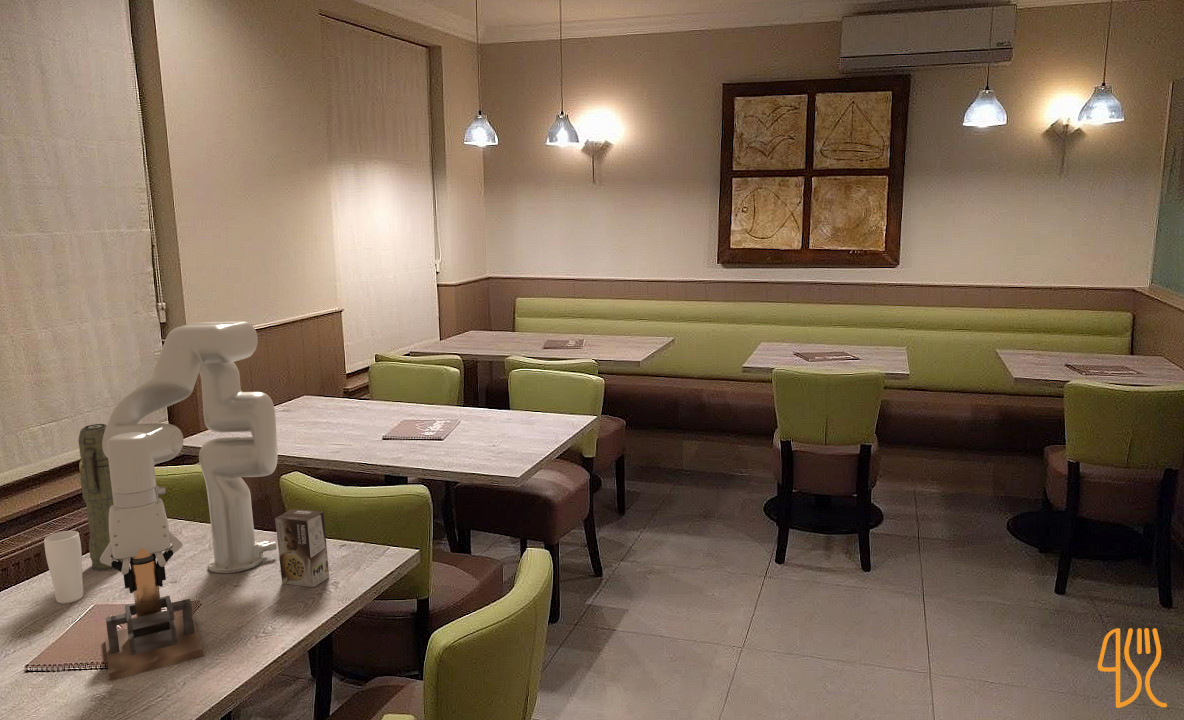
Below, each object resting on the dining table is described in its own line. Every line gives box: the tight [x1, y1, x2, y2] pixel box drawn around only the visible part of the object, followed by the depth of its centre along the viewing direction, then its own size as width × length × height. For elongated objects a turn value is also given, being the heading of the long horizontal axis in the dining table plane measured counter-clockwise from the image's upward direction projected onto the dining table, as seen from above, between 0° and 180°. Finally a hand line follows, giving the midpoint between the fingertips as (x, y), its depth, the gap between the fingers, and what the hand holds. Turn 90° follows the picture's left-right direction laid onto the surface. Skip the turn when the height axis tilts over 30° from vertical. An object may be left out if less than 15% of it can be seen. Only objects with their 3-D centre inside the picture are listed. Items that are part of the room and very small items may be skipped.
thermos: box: [78, 423, 122, 572], centre depth 209 cm, size 9×12×35 cm
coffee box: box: [274, 508, 330, 588], centre depth 198 cm, size 9×6×16 cm
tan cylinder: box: [129, 548, 162, 618], centre depth 167 cm, size 5×5×16 cm
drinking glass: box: [43, 530, 85, 605], centre depth 191 cm, size 7×7×15 cm
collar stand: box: [104, 595, 205, 681], centre depth 168 cm, size 16×18×8 cm
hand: (145, 586), depth 167 cm, fingers closed on tan cylinder, 4 cm apart
